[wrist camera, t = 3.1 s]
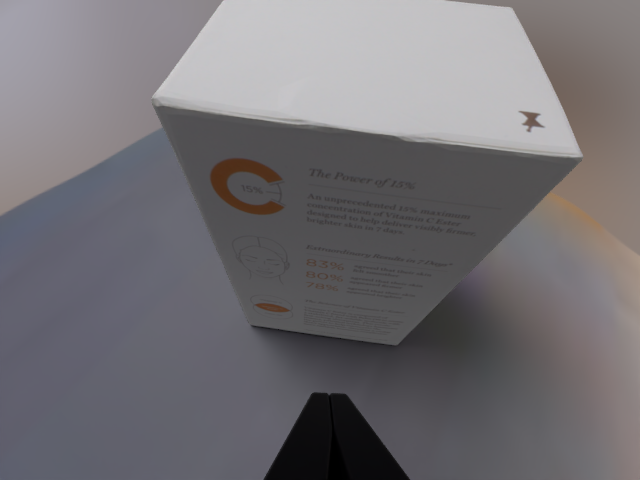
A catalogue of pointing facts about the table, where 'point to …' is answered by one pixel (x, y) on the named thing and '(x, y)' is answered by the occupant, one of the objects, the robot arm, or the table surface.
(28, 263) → the table surface
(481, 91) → the small box
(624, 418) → the table surface
